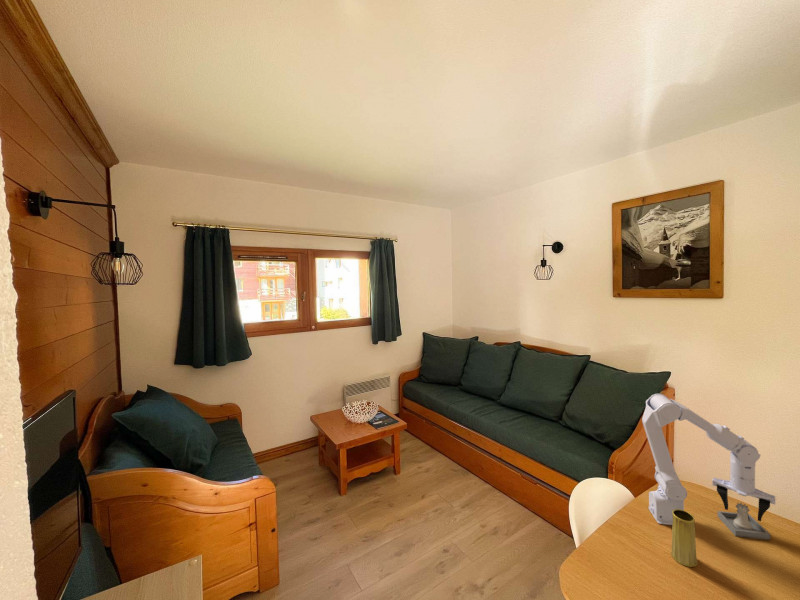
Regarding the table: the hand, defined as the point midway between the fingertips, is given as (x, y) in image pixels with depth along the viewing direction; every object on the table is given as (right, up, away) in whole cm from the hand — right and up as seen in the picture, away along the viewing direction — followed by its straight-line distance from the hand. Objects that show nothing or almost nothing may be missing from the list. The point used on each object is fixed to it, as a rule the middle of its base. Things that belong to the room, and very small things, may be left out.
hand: (742, 513), depth 110 cm
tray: (0, -5, 0) cm, 5 cm away
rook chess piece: (0, -5, 0) cm, 5 cm away
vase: (-28, -8, -9) cm, 30 cm away
